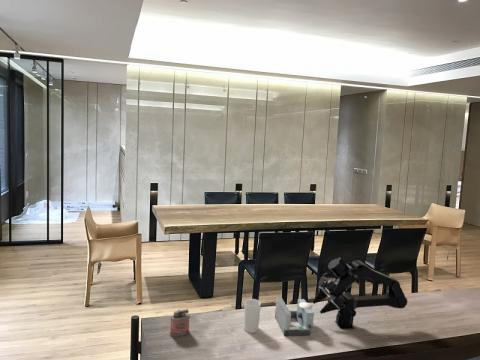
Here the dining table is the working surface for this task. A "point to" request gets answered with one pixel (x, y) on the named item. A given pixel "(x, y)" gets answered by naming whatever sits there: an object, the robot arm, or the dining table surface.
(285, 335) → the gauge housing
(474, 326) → the dining table surface
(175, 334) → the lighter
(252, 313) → the mug
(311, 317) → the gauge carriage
